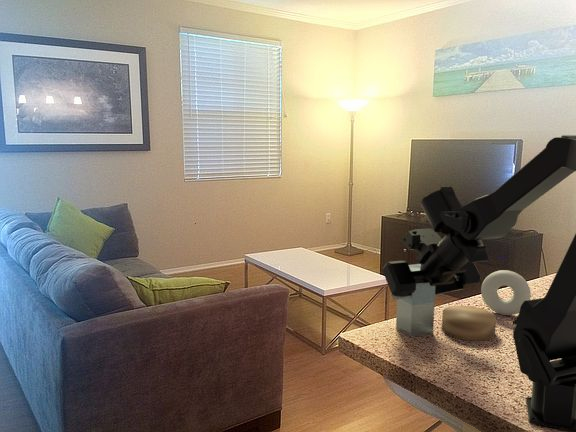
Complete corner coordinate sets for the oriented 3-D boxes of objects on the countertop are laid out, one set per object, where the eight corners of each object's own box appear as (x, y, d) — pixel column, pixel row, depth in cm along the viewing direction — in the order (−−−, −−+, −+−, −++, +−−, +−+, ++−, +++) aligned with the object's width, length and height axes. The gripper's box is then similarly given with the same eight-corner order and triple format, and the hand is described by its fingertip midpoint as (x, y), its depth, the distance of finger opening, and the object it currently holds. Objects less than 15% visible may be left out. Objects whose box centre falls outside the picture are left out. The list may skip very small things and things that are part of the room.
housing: (433, 333, 94) (436, 270, 92) (410, 337, 92) (413, 272, 90) (417, 324, 99) (420, 263, 97) (396, 327, 97) (398, 265, 95)
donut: (529, 316, 103) (533, 271, 102) (528, 321, 100) (532, 275, 99) (480, 308, 108) (483, 265, 107) (478, 312, 105) (481, 269, 104)
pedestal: (495, 344, 89) (496, 326, 88) (439, 336, 93) (440, 318, 92) (494, 325, 98) (495, 309, 97) (443, 318, 102) (444, 303, 101)
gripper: (474, 214, 91) (435, 257, 103) (389, 219, 85) (358, 264, 97) (502, 264, 85) (457, 303, 97) (413, 273, 78) (377, 314, 90)
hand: (412, 295), depth 95 cm, fingers open, 9 cm apart
